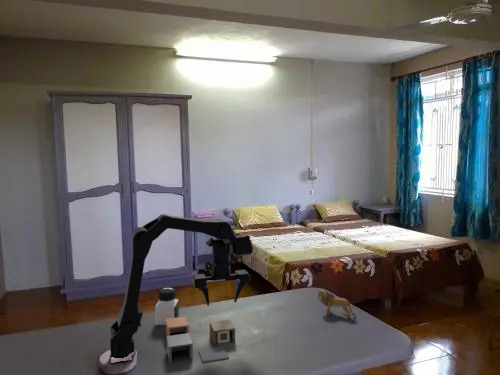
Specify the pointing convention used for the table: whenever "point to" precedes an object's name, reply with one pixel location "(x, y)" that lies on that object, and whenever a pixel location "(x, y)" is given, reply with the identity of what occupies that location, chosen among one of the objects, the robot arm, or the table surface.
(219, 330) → the box
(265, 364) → the table surface
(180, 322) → the terracotta block
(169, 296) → the medicine bottle
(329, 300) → the lion figurine
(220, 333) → the cream cube
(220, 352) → the slate pad
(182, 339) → the grey box
